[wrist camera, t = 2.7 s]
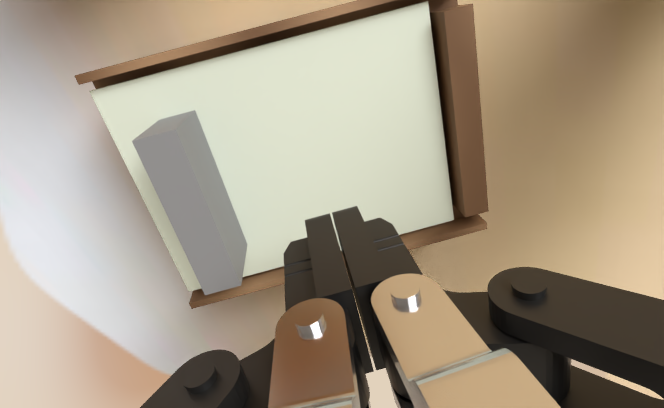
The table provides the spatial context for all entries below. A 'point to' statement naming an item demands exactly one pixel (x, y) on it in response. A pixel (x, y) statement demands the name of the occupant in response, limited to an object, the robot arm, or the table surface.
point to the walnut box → (454, 91)
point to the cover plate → (285, 142)
